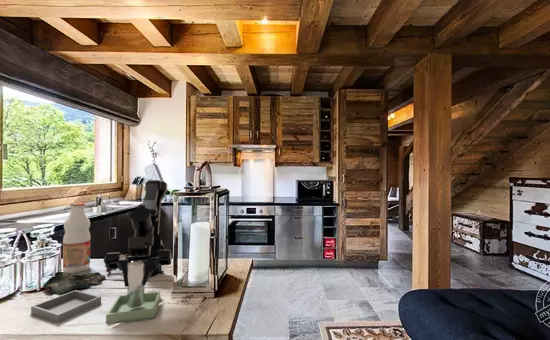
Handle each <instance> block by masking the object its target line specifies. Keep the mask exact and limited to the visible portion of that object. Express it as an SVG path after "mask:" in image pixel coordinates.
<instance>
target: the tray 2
mask: <svg viewBox="0 0 550 340" xmlns="http://www.w3.org/2000/svg"><path fill="white" fill-rule="evenodd" d="M160 300H161V291H152V292H151V291H150V292H144V304H143V305H141V306H139V307H135V308H130V307H127V294H121V295H118V296H117V297H116V299H115V300H114V302H113V304H112V306H110V308H109V309H108V311H107V313H106V314H105V323H111V322H115V324H120V323H128V322H137V321H145V320H154V319H155V317H156V314H157V310H158V307H159V304H160Z"/></svg>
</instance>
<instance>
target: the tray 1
mask: <svg viewBox="0 0 550 340" xmlns="http://www.w3.org/2000/svg"><path fill="white" fill-rule="evenodd" d="M100 304H102V296H101V295H97V294H94V293H93V294H92V293H89V292H84V291H82V290H81V291H80V290H77V289H75V290H72V291H71V290H70V291H68V292H65V293H62V294H61V295H57V296H56V297H53V298H51V299H48V300H45V301H42V302H40V303H37V304H34V305H31V306H30V314H31V315H33V316H37V317H40V318H43V319H46V320H49V321H52V322H54V323H58V324H59V323H60V322H62V321H65V320H68V319H69V318H72V317H74V316H76V315H78V314H80V313H83V312H85V311H87V310H89V309H92V308H94V307H97V306H98V305H100Z"/></svg>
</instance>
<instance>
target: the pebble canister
mask: <svg viewBox="0 0 550 340" xmlns="http://www.w3.org/2000/svg"><path fill="white" fill-rule="evenodd" d="M144 276H145V262H142V261H141V260H137V261H131V262H130V263H129V264H128V273H127V287H126V288H127V289H126V295H127V307H130V308H135V307H139V306H141V305H143V304H144V293H145V285H143V280H144Z"/></svg>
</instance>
